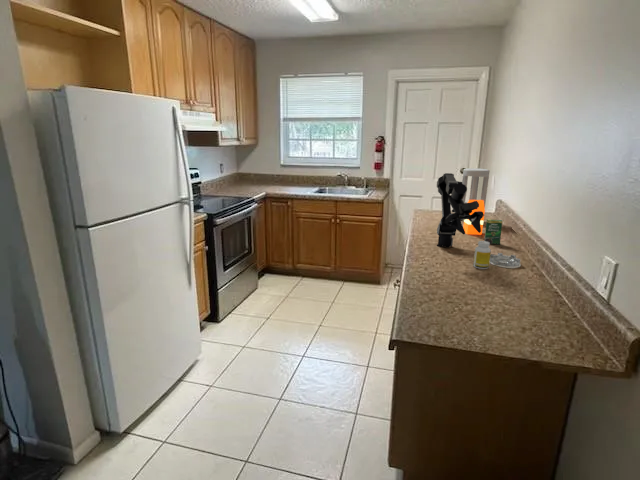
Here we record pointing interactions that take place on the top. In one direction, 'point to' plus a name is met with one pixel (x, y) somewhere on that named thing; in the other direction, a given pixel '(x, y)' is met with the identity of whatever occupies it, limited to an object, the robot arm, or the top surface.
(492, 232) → the coffee box
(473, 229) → the orange juice
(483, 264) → the pill bottle
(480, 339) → the top surface
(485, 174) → the stool
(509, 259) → the steel ashtray
